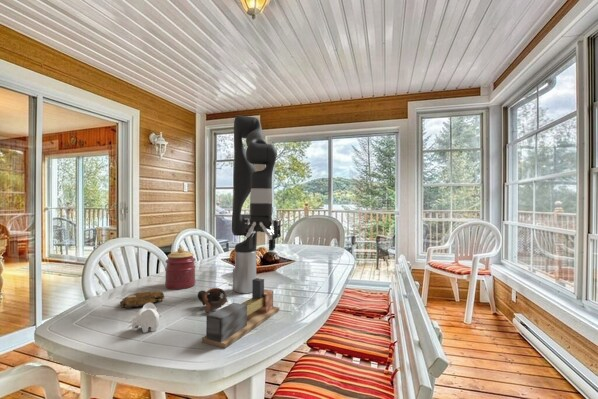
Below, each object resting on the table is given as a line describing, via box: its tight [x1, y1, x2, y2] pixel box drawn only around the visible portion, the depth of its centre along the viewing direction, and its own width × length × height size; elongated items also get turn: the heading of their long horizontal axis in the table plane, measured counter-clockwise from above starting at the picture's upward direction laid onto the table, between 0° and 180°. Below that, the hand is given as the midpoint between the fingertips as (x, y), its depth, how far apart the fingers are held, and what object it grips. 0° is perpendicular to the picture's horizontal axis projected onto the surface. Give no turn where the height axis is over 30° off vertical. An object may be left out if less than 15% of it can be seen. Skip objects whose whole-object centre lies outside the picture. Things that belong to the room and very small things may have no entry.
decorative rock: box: [119, 290, 166, 309], centre depth 114 cm, size 11×4×15 cm
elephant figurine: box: [127, 302, 164, 333], centre depth 90 cm, size 8×10×7 cm
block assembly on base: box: [201, 288, 280, 349], centre depth 94 cm, size 30×8×8 cm, turn 155°
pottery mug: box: [197, 287, 229, 314], centre depth 108 cm, size 12×10×8 cm
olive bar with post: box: [240, 277, 265, 316], centre depth 97 cm, size 18×3×9 cm, turn 155°
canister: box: [164, 246, 196, 290], centre depth 137 cm, size 13×13×18 cm
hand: (260, 249), depth 102 cm, fingers open, 8 cm apart
